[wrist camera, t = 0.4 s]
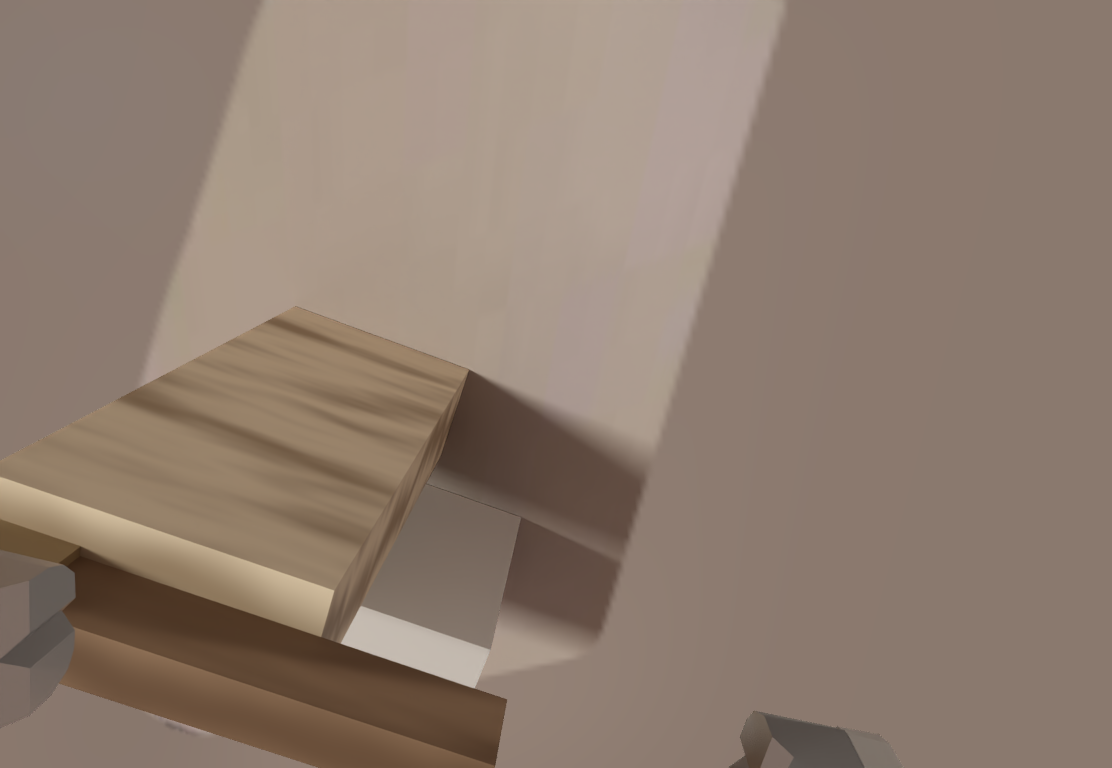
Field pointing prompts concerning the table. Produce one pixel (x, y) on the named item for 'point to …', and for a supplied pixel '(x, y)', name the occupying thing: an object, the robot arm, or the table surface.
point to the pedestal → (251, 470)
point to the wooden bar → (259, 675)
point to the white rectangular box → (439, 588)
